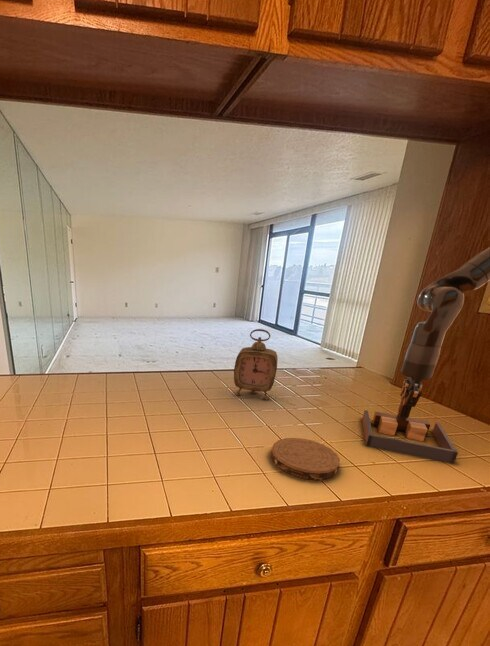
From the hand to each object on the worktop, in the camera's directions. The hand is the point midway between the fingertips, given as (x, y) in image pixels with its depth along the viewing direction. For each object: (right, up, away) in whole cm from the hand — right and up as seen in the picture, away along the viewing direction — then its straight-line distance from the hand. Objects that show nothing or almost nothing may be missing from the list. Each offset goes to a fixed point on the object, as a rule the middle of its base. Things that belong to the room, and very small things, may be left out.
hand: (402, 414), depth 104 cm
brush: (0, -4, +2) cm, 5 cm away
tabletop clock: (-39, +6, +26) cm, 47 cm away
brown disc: (-37, -12, -17) cm, 42 cm away
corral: (-3, -7, -3) cm, 8 cm away
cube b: (+2, -7, -2) cm, 7 cm away
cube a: (-5, -5, 0) cm, 7 cm away
